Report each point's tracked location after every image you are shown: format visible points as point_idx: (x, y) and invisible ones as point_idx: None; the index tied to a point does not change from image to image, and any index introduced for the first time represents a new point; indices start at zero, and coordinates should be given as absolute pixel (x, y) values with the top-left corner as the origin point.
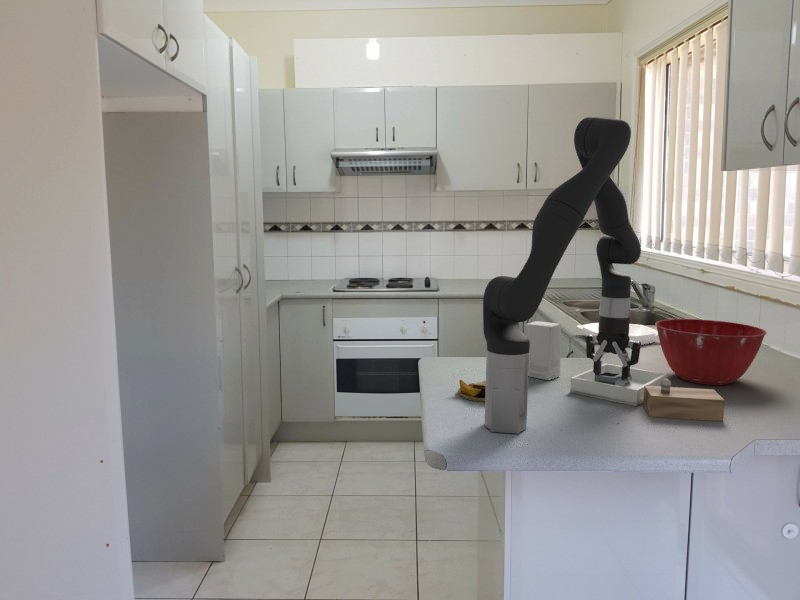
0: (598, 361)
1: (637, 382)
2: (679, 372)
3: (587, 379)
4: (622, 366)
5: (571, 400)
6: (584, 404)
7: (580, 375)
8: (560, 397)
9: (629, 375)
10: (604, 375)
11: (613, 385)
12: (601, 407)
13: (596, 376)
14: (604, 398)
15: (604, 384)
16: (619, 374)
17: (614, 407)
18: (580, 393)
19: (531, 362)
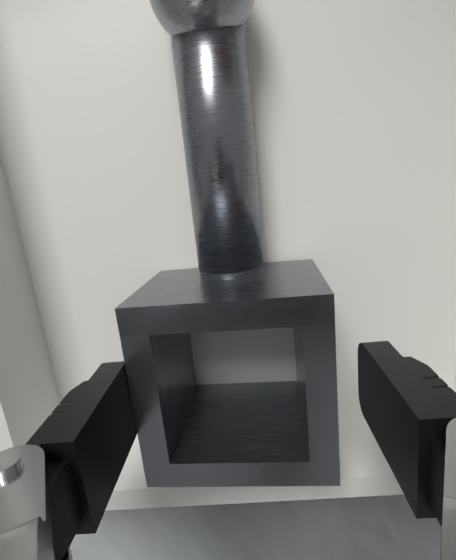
0: (77, 513)
1: None
2: None
3: (8, 268)
4: (419, 514)
5: (160, 544)
6: (241, 555)
7: (4, 414)
8: (93, 539)
9: (431, 372)
10: (158, 340)
11: (338, 489)
12: (325, 543)
13: (166, 479)
14: None
15: (271, 498)
16: (304, 342)
17: (375, 503)
18: None
19: None
